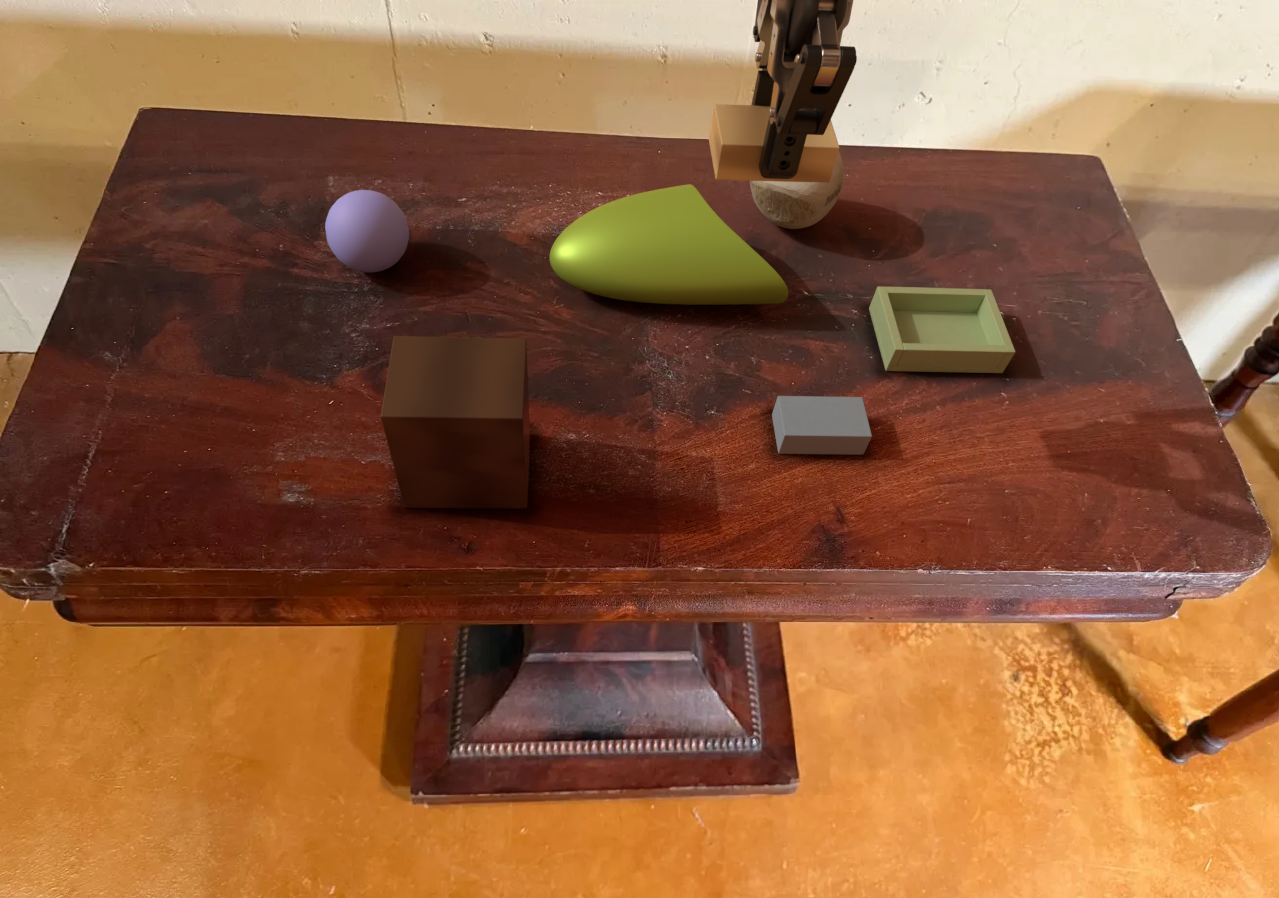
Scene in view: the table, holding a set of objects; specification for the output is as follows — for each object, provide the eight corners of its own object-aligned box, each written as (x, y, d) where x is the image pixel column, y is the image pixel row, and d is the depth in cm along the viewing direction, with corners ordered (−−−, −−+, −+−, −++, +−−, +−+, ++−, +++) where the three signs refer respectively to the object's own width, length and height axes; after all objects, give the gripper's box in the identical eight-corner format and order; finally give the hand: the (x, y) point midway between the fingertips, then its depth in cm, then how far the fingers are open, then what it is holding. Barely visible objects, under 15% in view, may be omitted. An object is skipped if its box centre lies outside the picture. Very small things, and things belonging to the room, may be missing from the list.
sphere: (346, 297, 77) (329, 235, 71) (325, 246, 81) (307, 183, 75) (424, 277, 79) (414, 214, 74) (400, 228, 83) (389, 165, 77)
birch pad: (817, 142, 56) (827, 107, 54) (829, 183, 54) (840, 147, 52) (708, 139, 55) (714, 103, 53) (715, 180, 53) (721, 144, 51)
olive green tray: (979, 311, 82) (991, 289, 80) (1002, 373, 78) (1016, 352, 76) (868, 308, 81) (877, 286, 79) (885, 371, 77) (895, 349, 75)
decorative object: (834, 202, 90) (861, 115, 82) (822, 258, 85) (850, 170, 77) (749, 183, 91) (767, 94, 83) (732, 237, 86) (751, 148, 78)
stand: (530, 433, 70) (526, 338, 61) (527, 509, 66) (522, 418, 57) (414, 432, 69) (393, 335, 60) (404, 508, 65) (380, 416, 56)
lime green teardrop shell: (765, 155, 78) (539, 178, 76) (796, 269, 73) (555, 296, 72) (752, 213, 85) (545, 235, 84) (779, 320, 80) (560, 346, 79)
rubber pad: (854, 415, 74) (862, 396, 72) (863, 454, 71) (872, 436, 69) (771, 414, 73) (777, 395, 71) (777, 454, 71) (784, 435, 69)
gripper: (967, -98, 36) (853, 230, 50) (890, -226, 45) (810, 86, 58) (788, -108, 36) (723, 227, 49) (743, -237, 44) (698, 82, 58)
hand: (770, 149), depth 54 cm, fingers closed on birch pad, 4 cm apart
